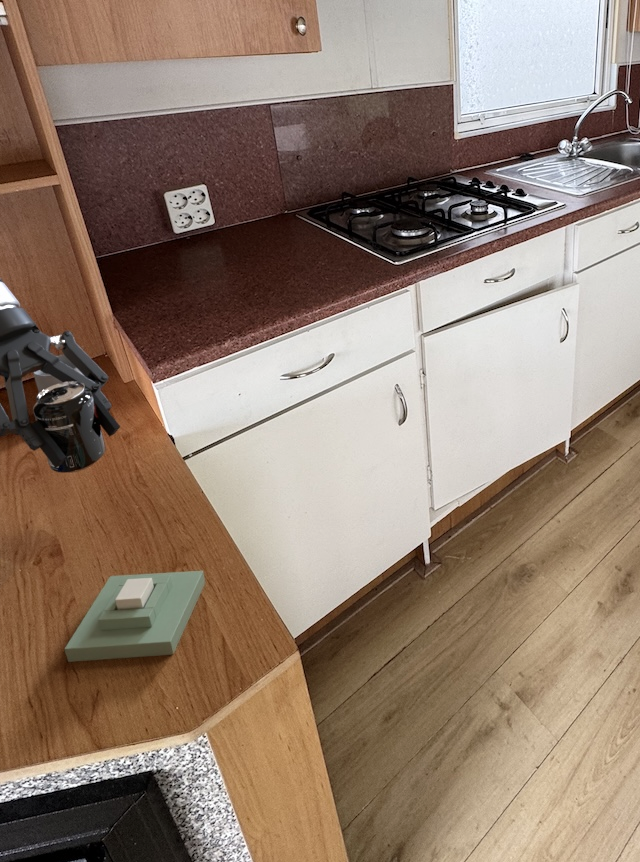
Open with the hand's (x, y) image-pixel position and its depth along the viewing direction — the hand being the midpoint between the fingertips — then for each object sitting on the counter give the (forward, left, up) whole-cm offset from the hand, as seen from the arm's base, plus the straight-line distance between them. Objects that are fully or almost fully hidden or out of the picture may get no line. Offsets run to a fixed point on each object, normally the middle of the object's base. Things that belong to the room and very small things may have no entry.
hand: (88, 446), depth 82 cm
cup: (-24, +32, -15) cm, 43 cm away
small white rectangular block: (+12, -16, -12) cm, 23 cm away
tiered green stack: (+12, -16, -15) cm, 25 cm away
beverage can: (-3, +2, -4) cm, 5 cm away
